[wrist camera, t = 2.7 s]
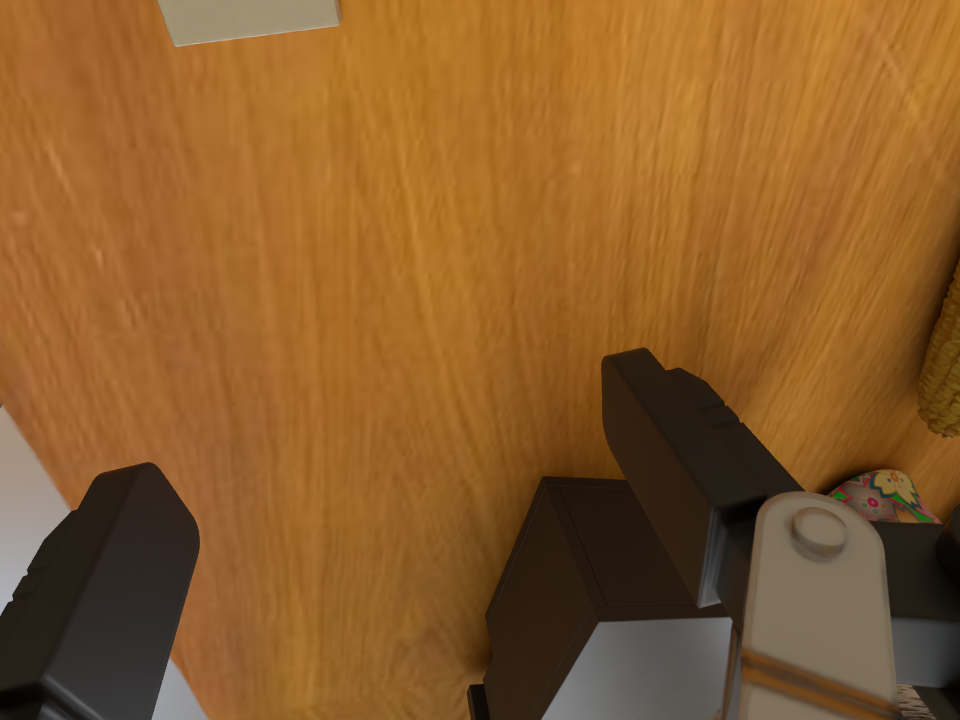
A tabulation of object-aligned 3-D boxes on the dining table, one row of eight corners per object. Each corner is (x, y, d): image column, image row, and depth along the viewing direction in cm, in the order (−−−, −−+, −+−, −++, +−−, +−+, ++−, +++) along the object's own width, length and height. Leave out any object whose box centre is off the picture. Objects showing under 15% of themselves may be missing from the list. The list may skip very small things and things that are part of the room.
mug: (782, 547, 43) (883, 677, 35) (817, 468, 38) (944, 597, 30) (907, 522, 45) (1032, 640, 37) (956, 443, 40) (1113, 559, 32)
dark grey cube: (630, 611, 45) (689, 742, 37) (484, 616, 41) (515, 763, 33) (711, 483, 37) (806, 613, 29) (542, 476, 34) (599, 622, 26)
